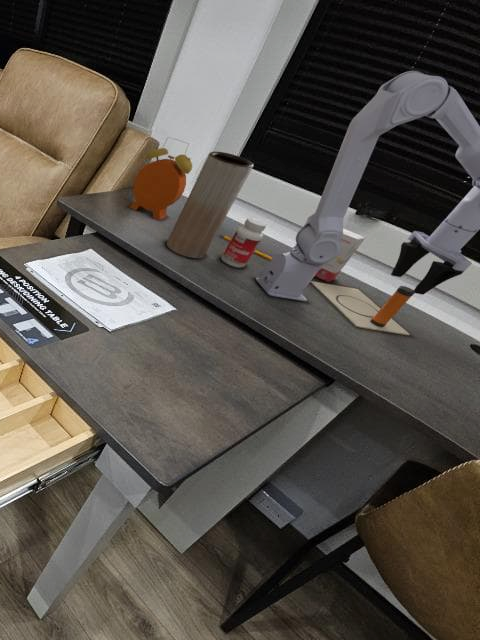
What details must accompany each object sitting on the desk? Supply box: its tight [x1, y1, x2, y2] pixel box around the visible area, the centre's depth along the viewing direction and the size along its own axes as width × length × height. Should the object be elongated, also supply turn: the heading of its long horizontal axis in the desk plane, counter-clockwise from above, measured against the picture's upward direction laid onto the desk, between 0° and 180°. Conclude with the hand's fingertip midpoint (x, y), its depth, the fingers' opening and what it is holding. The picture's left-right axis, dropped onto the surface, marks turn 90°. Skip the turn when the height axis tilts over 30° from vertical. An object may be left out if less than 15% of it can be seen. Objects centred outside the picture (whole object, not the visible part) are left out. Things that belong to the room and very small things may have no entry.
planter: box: [166, 150, 254, 259], centre depth 111 cm, size 10×10×23 cm
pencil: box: [222, 235, 273, 261], centre depth 126 cm, size 1×18×1 cm, turn 39°
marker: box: [370, 285, 416, 327], centre depth 100 cm, size 3×3×9 cm
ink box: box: [314, 227, 366, 283], centre depth 117 cm, size 9×5×12 cm, turn 33°
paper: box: [310, 280, 411, 336], centre depth 109 cm, size 13×20×1 cm, turn 177°
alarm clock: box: [129, 136, 193, 221], centre depth 130 cm, size 13×6×20 cm, turn 49°
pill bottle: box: [220, 217, 267, 269], centre depth 114 cm, size 6×6×11 cm
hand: (406, 284), depth 101 cm, fingers open, 7 cm apart
